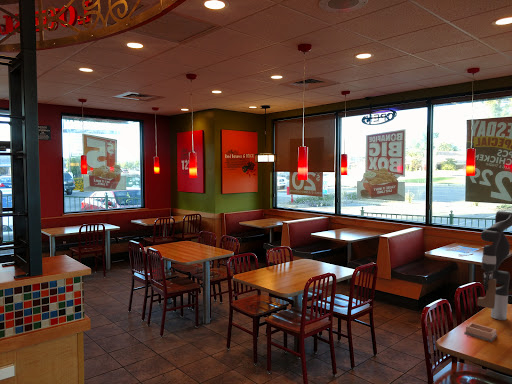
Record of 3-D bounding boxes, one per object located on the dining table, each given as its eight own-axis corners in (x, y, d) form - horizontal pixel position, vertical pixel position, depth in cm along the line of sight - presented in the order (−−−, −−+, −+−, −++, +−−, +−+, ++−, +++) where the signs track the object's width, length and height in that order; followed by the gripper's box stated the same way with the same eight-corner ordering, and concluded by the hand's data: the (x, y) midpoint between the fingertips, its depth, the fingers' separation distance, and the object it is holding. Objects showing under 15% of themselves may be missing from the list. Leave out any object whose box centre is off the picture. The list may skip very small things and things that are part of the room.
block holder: (470, 328, 249) (471, 321, 249) (496, 336, 238) (497, 329, 238) (464, 333, 241) (464, 326, 240) (491, 342, 230) (492, 334, 230)
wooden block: (476, 305, 244) (479, 277, 243) (478, 303, 247) (480, 276, 246) (493, 309, 238) (495, 280, 237) (494, 307, 241) (496, 279, 240)
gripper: (485, 259, 249) (483, 285, 250) (478, 262, 239) (476, 289, 240) (498, 261, 243) (496, 288, 244) (492, 265, 233) (490, 292, 234)
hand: (486, 288), depth 242 cm, fingers closed on wooden block, 4 cm apart
